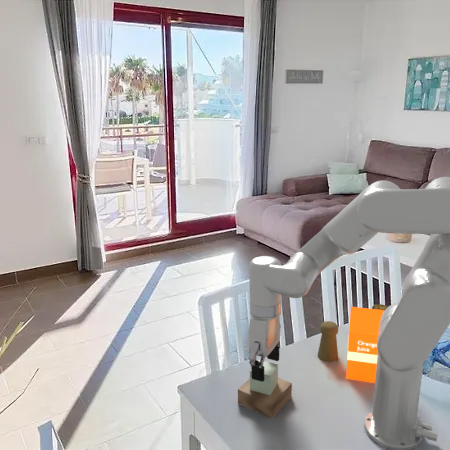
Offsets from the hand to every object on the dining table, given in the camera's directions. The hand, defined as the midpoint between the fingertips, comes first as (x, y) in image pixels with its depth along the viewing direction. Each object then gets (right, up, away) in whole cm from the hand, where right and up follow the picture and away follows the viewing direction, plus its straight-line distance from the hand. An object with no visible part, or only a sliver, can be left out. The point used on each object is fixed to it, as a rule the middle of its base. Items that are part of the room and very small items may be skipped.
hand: (265, 369), depth 116 cm
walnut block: (0, -9, +3) cm, 10 cm away
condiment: (+38, -1, +30) cm, 49 cm away
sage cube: (0, -5, +2) cm, 5 cm away
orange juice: (+28, -5, +13) cm, 32 cm away
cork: (+20, -3, +22) cm, 30 cm away
